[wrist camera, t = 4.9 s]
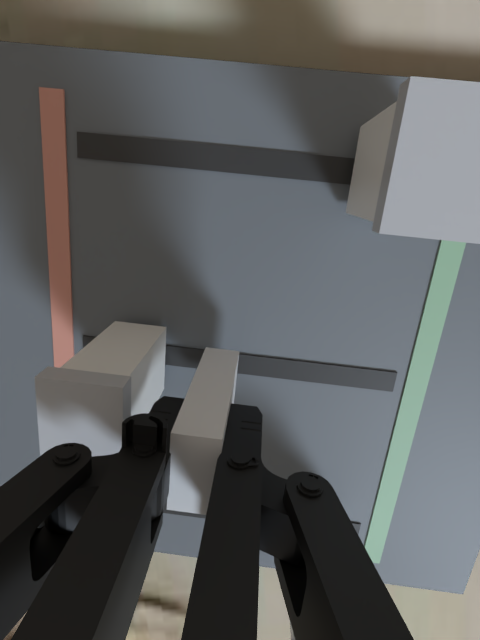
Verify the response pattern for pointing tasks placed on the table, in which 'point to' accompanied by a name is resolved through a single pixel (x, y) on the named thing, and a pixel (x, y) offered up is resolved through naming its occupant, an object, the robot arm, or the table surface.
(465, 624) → the table surface
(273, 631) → the table surface
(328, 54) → the table surface
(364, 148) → the block
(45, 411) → the block
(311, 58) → the table surface
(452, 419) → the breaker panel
